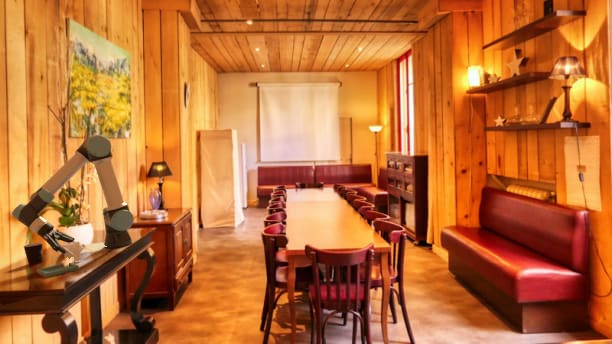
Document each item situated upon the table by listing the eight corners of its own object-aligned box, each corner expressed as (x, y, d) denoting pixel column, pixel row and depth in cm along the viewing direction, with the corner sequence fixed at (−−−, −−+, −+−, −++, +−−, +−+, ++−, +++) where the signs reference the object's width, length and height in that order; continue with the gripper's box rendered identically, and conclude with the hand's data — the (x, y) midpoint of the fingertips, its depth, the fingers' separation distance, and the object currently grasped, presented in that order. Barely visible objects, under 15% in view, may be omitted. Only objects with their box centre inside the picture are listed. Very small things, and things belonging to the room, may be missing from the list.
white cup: (77, 264, 232) (74, 244, 232) (61, 265, 233) (59, 246, 232) (85, 259, 240) (82, 241, 239) (70, 261, 240) (67, 242, 240)
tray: (68, 265, 230) (68, 262, 230) (79, 269, 220) (78, 265, 220) (37, 273, 220) (37, 269, 220) (46, 277, 210) (46, 273, 210)
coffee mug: (36, 265, 240) (33, 246, 239) (22, 265, 241) (19, 247, 241) (52, 259, 251) (50, 240, 250) (39, 259, 253) (36, 241, 252)
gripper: (48, 228, 246) (81, 253, 249) (25, 238, 221) (61, 265, 224) (57, 217, 246) (90, 242, 249) (35, 226, 221) (71, 253, 224)
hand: (77, 253), depth 236 cm, fingers open, 13 cm apart
